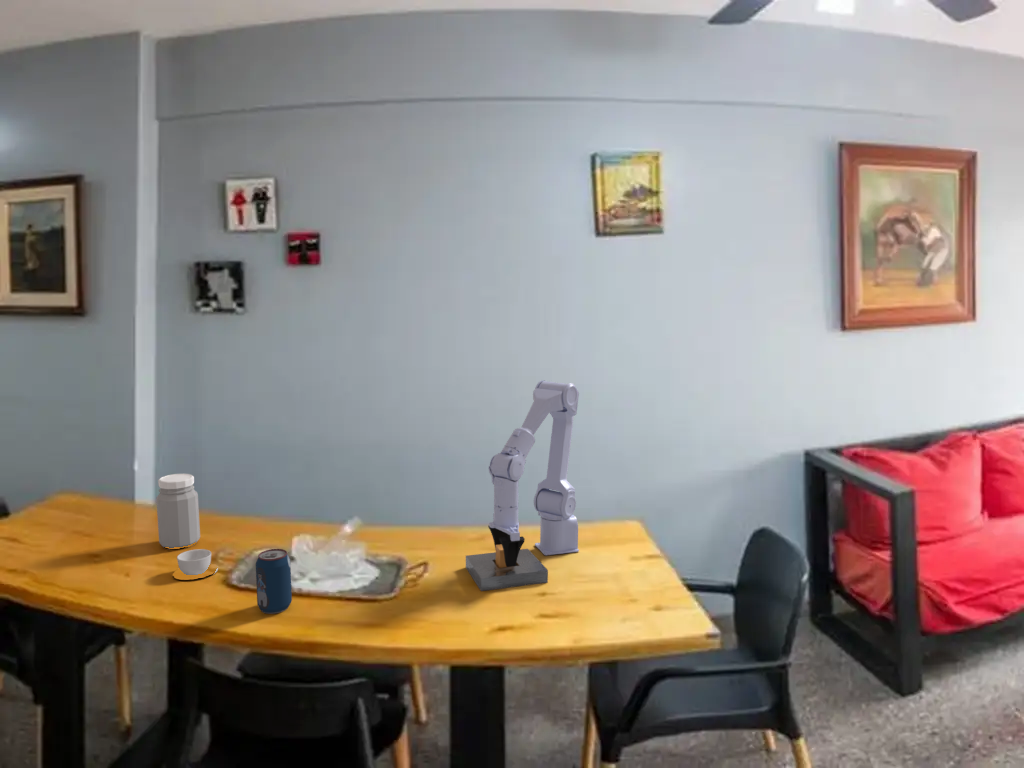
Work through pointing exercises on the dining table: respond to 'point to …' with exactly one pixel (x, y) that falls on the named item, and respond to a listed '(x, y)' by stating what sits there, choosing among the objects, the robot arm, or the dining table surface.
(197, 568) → the teacup
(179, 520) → the jar
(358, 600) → the dining table surface
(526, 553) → the gray block with hole
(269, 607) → the soda can
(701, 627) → the dining table surface
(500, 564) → the peach rectangular block
